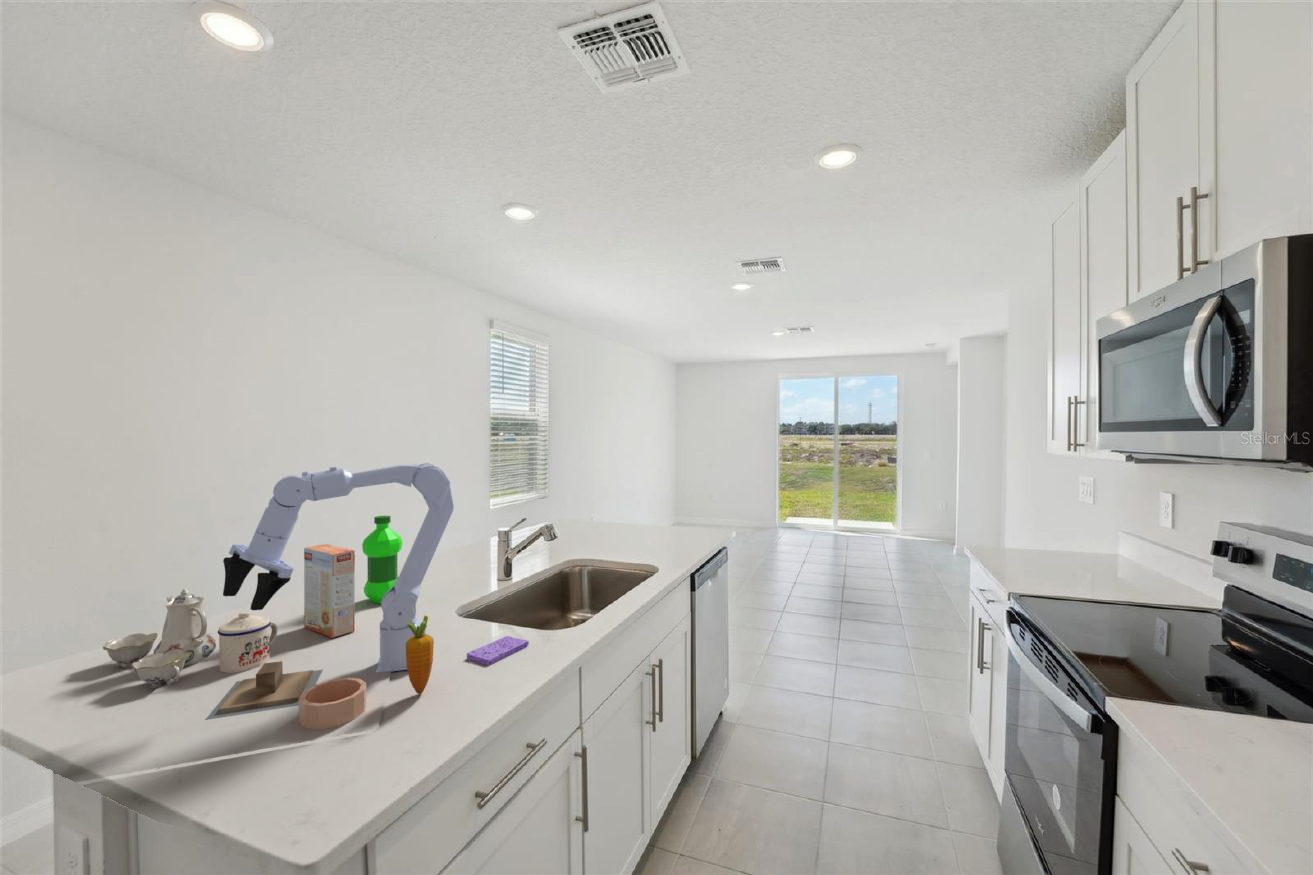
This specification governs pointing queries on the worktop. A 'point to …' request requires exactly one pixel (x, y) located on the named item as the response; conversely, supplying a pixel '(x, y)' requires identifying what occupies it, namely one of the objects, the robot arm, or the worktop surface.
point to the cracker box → (329, 590)
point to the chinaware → (167, 643)
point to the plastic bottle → (381, 558)
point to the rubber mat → (216, 710)
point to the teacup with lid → (245, 643)
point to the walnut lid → (267, 688)
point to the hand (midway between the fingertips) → (242, 602)
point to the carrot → (419, 656)
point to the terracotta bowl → (332, 703)
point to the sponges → (497, 650)
